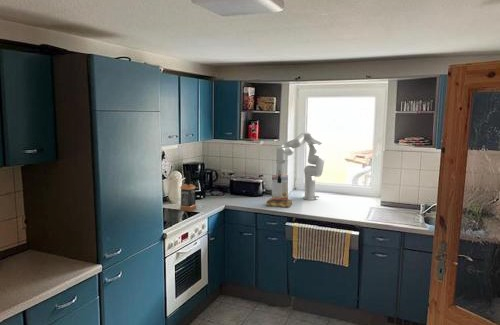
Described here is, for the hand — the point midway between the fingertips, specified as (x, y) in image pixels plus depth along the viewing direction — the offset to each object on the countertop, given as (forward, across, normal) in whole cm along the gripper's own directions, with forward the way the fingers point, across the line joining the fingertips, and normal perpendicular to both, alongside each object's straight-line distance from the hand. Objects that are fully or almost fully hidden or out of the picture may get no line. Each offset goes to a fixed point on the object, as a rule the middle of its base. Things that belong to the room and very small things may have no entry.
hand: (280, 182), depth 323 cm
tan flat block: (+20, 0, 0) cm, 20 cm away
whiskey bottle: (+20, +41, -68) cm, 82 cm away
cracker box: (+15, 0, 0) cm, 15 cm away
